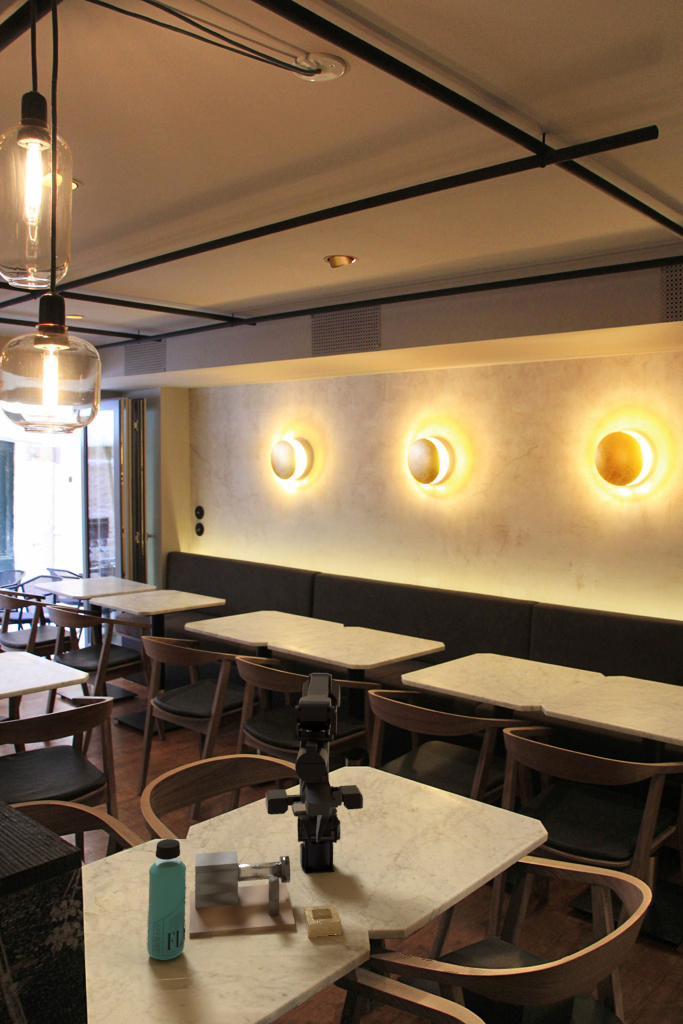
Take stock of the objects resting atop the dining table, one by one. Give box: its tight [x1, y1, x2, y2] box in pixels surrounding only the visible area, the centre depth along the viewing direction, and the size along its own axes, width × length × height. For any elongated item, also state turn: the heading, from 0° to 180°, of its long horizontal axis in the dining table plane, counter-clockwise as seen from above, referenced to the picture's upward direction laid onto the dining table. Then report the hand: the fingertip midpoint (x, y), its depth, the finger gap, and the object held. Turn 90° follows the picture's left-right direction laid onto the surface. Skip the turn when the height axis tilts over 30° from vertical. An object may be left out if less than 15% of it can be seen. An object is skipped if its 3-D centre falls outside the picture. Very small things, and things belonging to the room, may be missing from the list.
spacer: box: [303, 904, 342, 938], centre depth 146 cm, size 6×6×2 cm
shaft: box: [238, 855, 291, 884], centre depth 154 cm, size 15×5×5 cm, turn 100°
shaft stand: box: [188, 850, 296, 938], centre depth 151 cm, size 19×15×9 cm
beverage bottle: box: [145, 838, 187, 961], centre depth 136 cm, size 6×7×20 cm
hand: (313, 842), depth 156 cm, fingers closed
